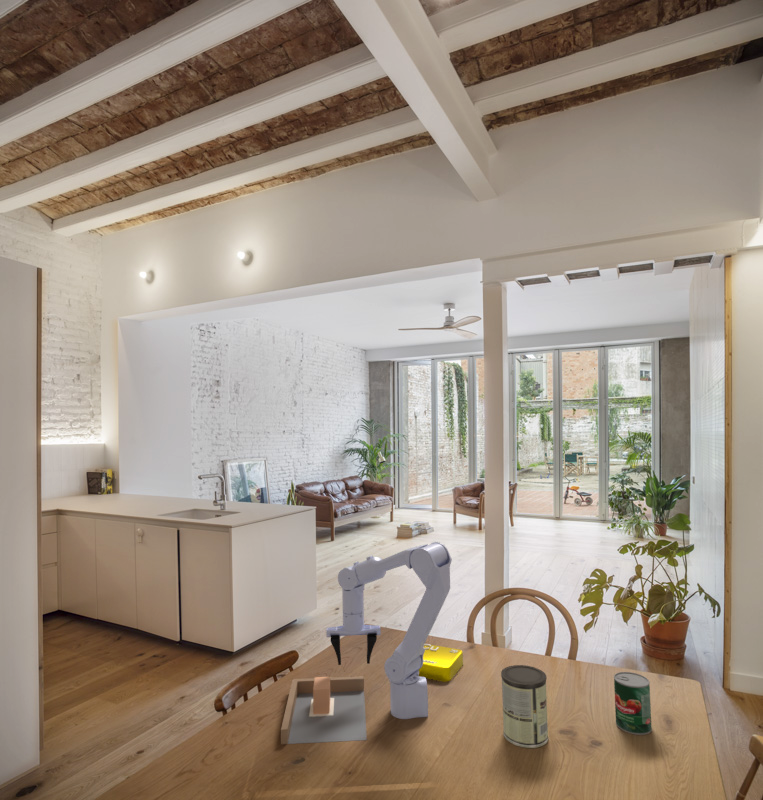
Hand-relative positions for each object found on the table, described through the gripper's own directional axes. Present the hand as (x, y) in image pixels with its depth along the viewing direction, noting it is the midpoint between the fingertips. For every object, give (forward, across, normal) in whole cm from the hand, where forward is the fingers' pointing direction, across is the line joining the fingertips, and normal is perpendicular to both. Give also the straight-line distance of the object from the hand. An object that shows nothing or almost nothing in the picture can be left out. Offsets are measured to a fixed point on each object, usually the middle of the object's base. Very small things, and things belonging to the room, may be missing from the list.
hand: (353, 662), depth 148 cm
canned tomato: (+10, -66, +20) cm, 70 cm away
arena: (+9, +7, +9) cm, 15 cm away
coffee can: (+10, -39, +22) cm, 46 cm away
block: (+8, +8, +5) cm, 13 cm away
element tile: (+10, -24, -17) cm, 31 cm away
